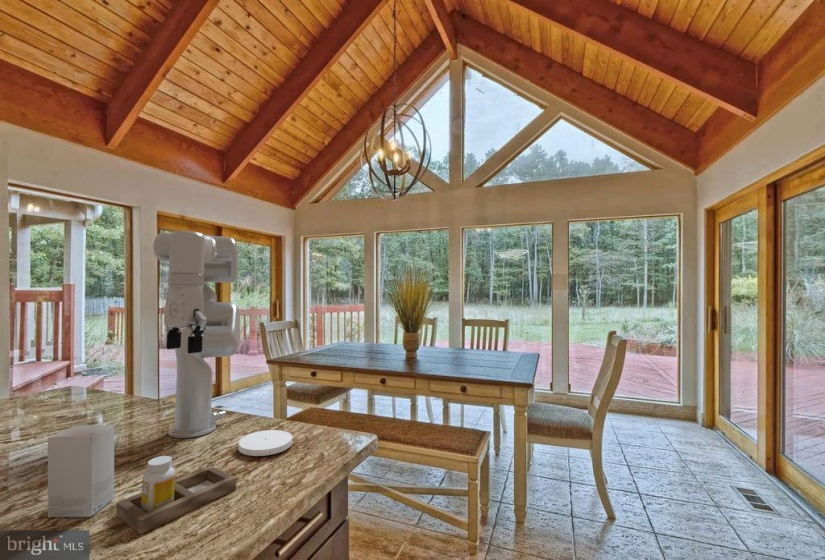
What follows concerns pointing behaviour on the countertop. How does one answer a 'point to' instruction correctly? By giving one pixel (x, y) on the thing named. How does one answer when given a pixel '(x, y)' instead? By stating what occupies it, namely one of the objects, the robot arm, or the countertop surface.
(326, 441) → the countertop surface
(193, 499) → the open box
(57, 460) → the skincare box
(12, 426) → the countertop surface
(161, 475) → the supplement bottle
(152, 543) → the countertop surface
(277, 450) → the plastic lid
